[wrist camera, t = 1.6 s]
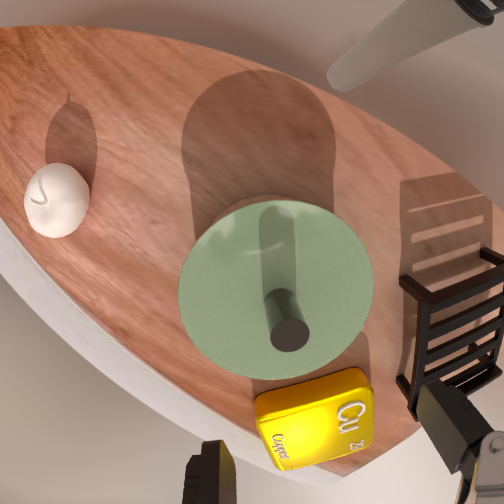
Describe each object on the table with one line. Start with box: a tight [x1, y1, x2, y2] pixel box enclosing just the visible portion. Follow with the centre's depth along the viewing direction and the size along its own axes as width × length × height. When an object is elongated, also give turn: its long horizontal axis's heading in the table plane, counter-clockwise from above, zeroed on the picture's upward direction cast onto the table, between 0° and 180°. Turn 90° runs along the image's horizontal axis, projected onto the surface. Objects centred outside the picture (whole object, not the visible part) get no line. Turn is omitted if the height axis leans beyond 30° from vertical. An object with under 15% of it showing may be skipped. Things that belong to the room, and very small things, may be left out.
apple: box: [24, 163, 90, 238], centre depth 23 cm, size 7×7×8 cm
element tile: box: [254, 368, 374, 471], centre depth 35 cm, size 15×15×5 cm
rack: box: [396, 247, 504, 422], centre depth 30 cm, size 18×16×8 cm
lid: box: [178, 199, 374, 380], centre depth 20 cm, size 15×15×6 cm
